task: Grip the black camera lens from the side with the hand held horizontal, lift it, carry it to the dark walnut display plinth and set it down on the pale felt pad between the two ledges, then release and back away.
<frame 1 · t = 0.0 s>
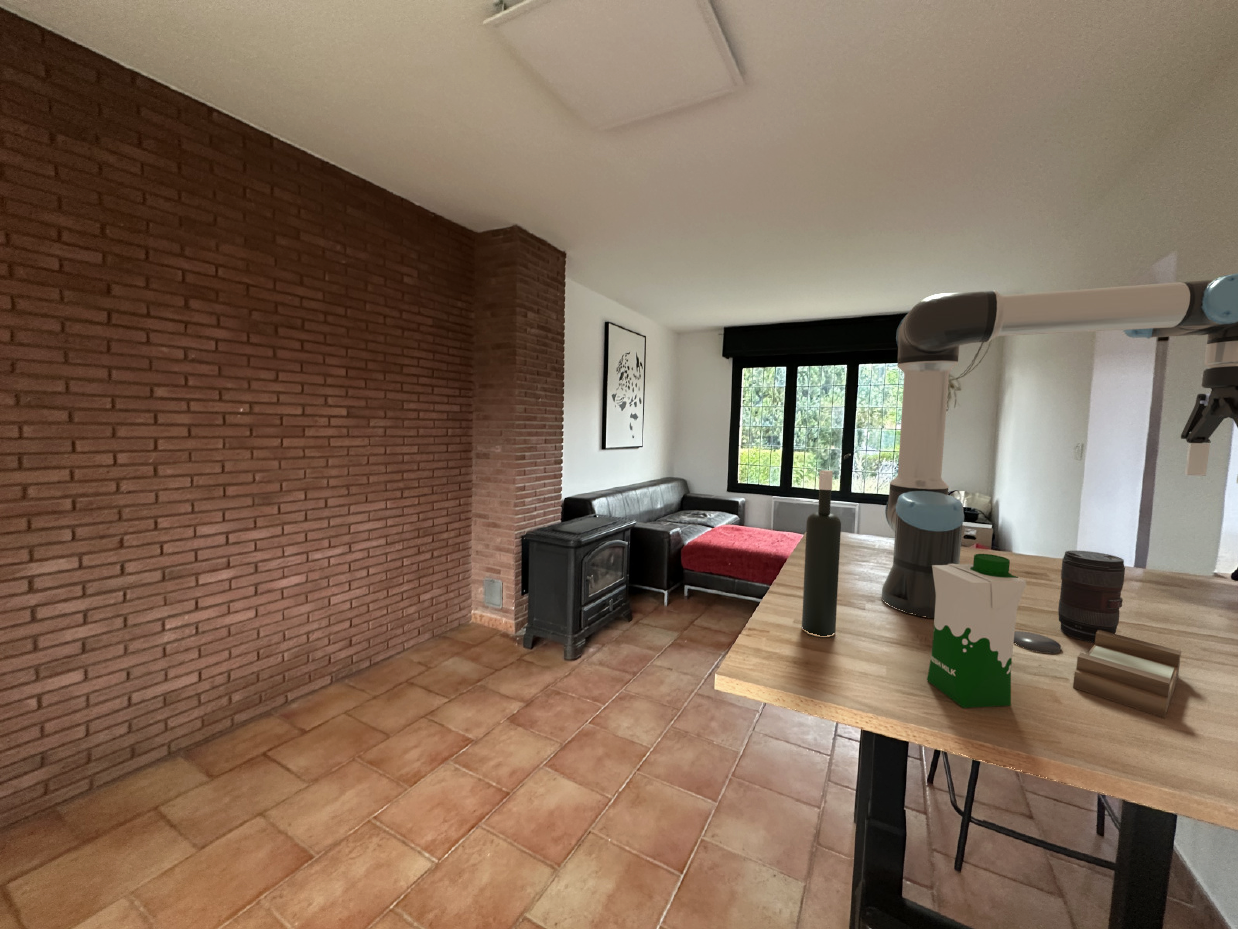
hand: (1220, 479, 92), 28 cm above the table, tool pointing down, fingers open, 13 cm apart
wine bottle: (818, 632, 89), on the table
camera lens: (1084, 635, 88), on the table
milk carton: (966, 694, 70), on the table
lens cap: (1033, 645, 85), on the table
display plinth: (1126, 682, 73), on the table
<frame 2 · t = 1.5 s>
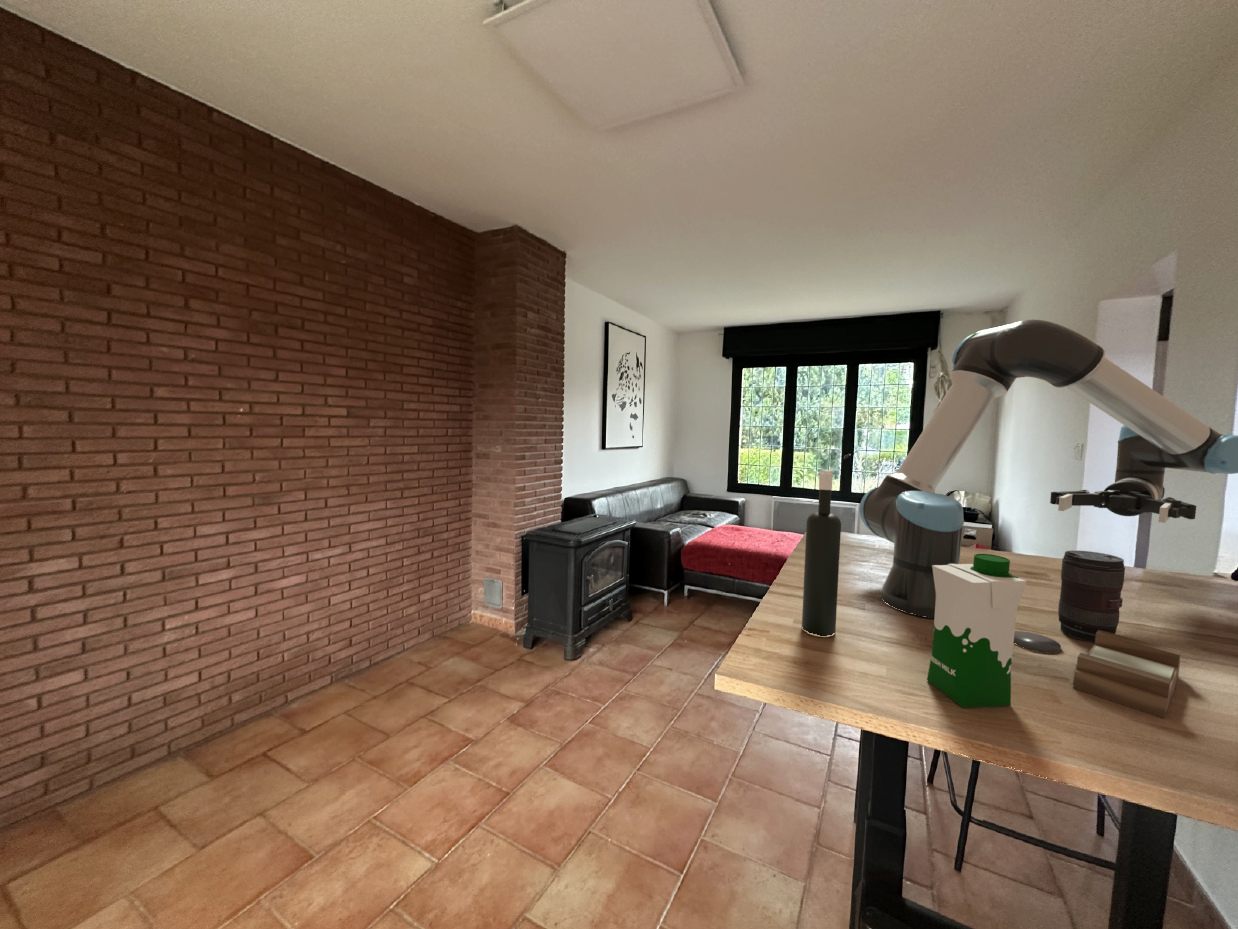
hand: (1108, 509, 92), 22 cm above the table, tool horizontal, fingers open, 13 cm apart
nothing on the table moved.
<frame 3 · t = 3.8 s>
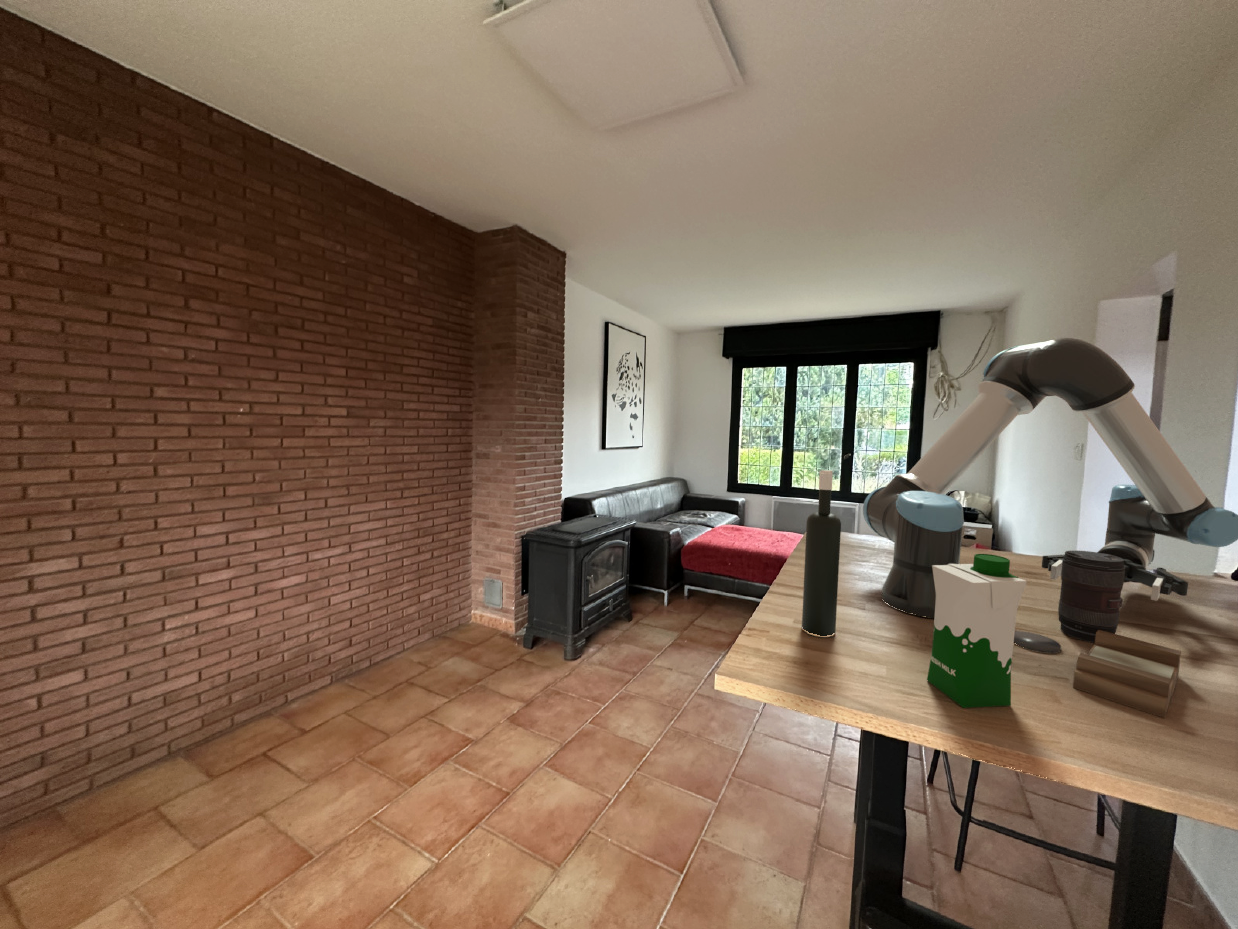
hand: (1101, 582, 90), 9 cm above the table, tool horizontal, fingers open, 13 cm apart
nothing on the table moved.
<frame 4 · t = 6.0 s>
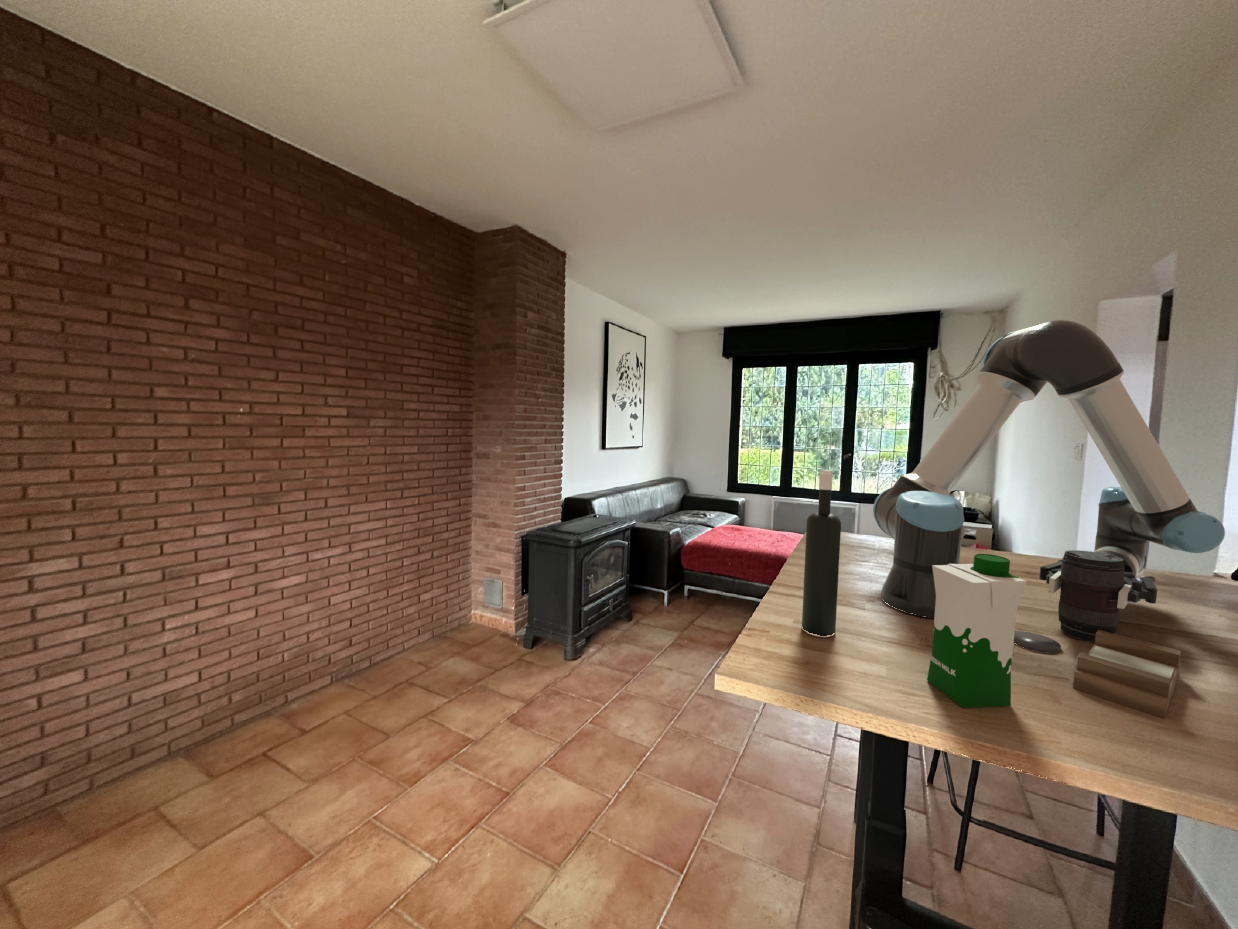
hand: (1084, 592, 84), 9 cm above the table, tool horizontal, fingers closed on camera lens, 8 cm apart
camera lens: (1085, 635, 88), on the table, touching gripper
everything else where it was.
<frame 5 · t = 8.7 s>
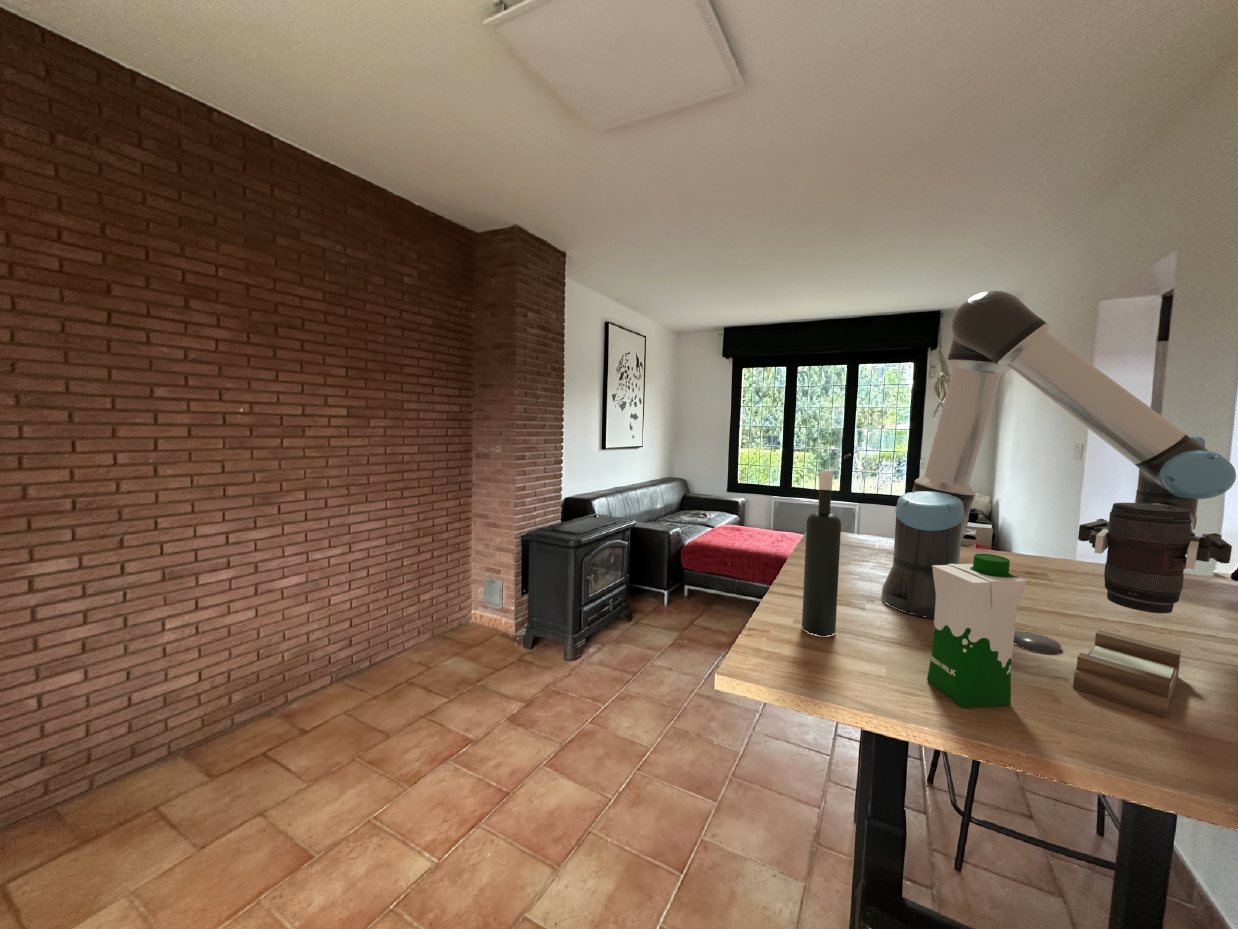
hand: (1142, 551, 68), 21 cm above the table, tool horizontal, fingers closed on camera lens, 8 cm apart
camera lens: (1138, 605, 72), point 12 cm above the table, touching gripper
everything else where it was.
when the fingers open (12 cm above the table, at t = 11.3 s): camera lens stays where it is, resting on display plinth.
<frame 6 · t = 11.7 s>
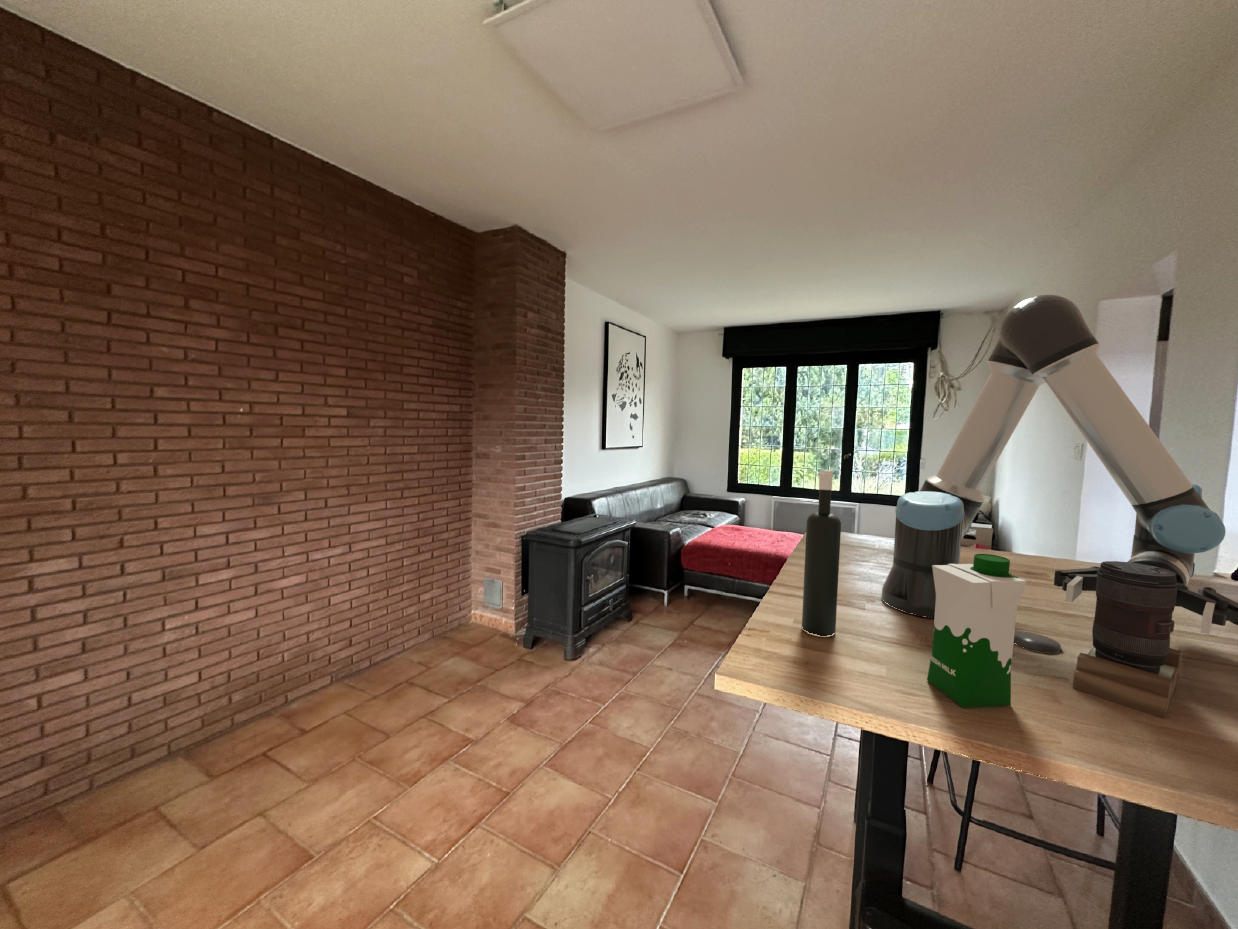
hand: (1132, 607, 69), 12 cm above the table, tool horizontal, fingers open, 13 cm apart
camera lens: (1125, 665, 73), point 3 cm above the table, touching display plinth
everything else where it was.
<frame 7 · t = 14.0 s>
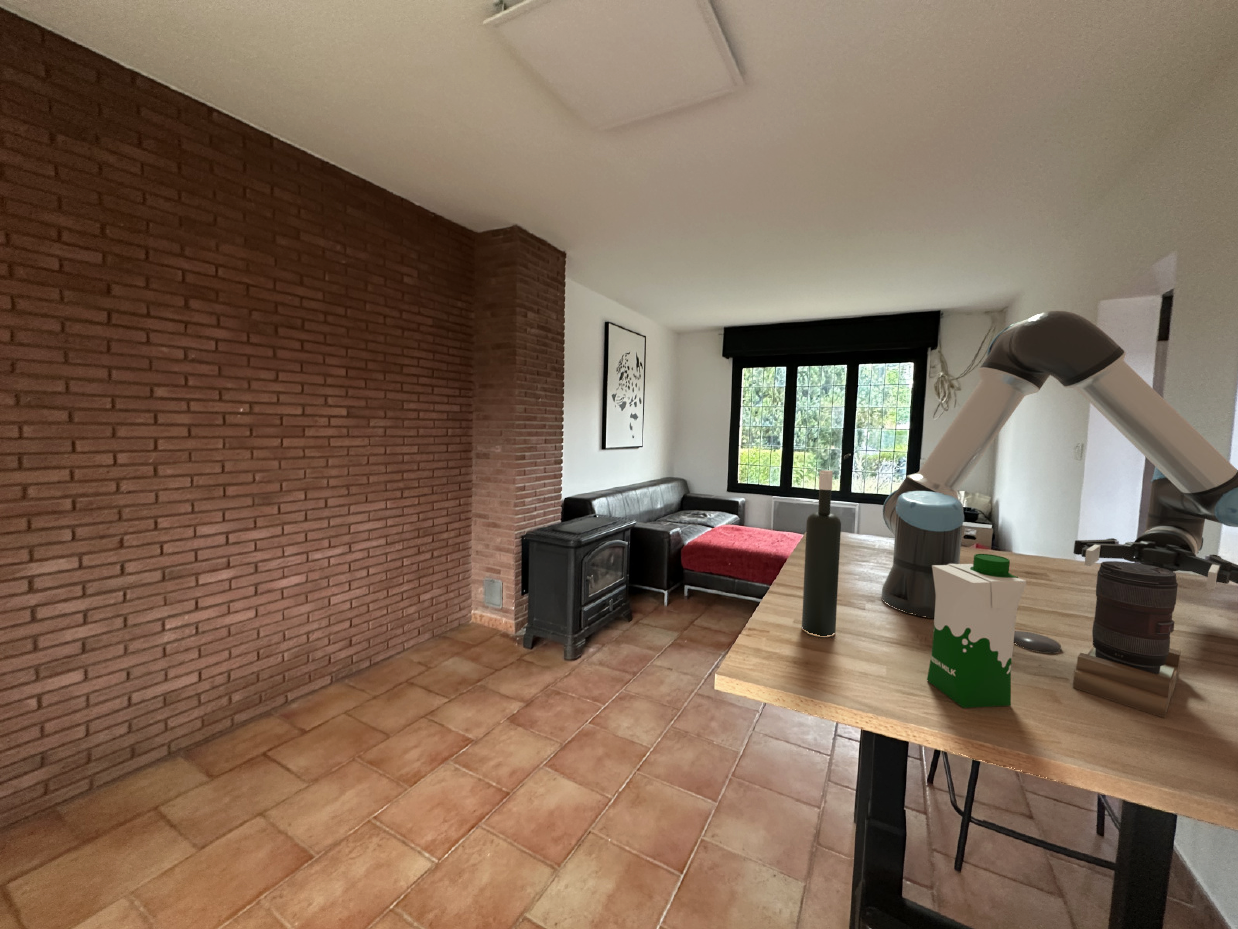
hand: (1145, 568, 79), 15 cm above the table, tool horizontal, fingers open, 13 cm apart
nothing on the table moved.
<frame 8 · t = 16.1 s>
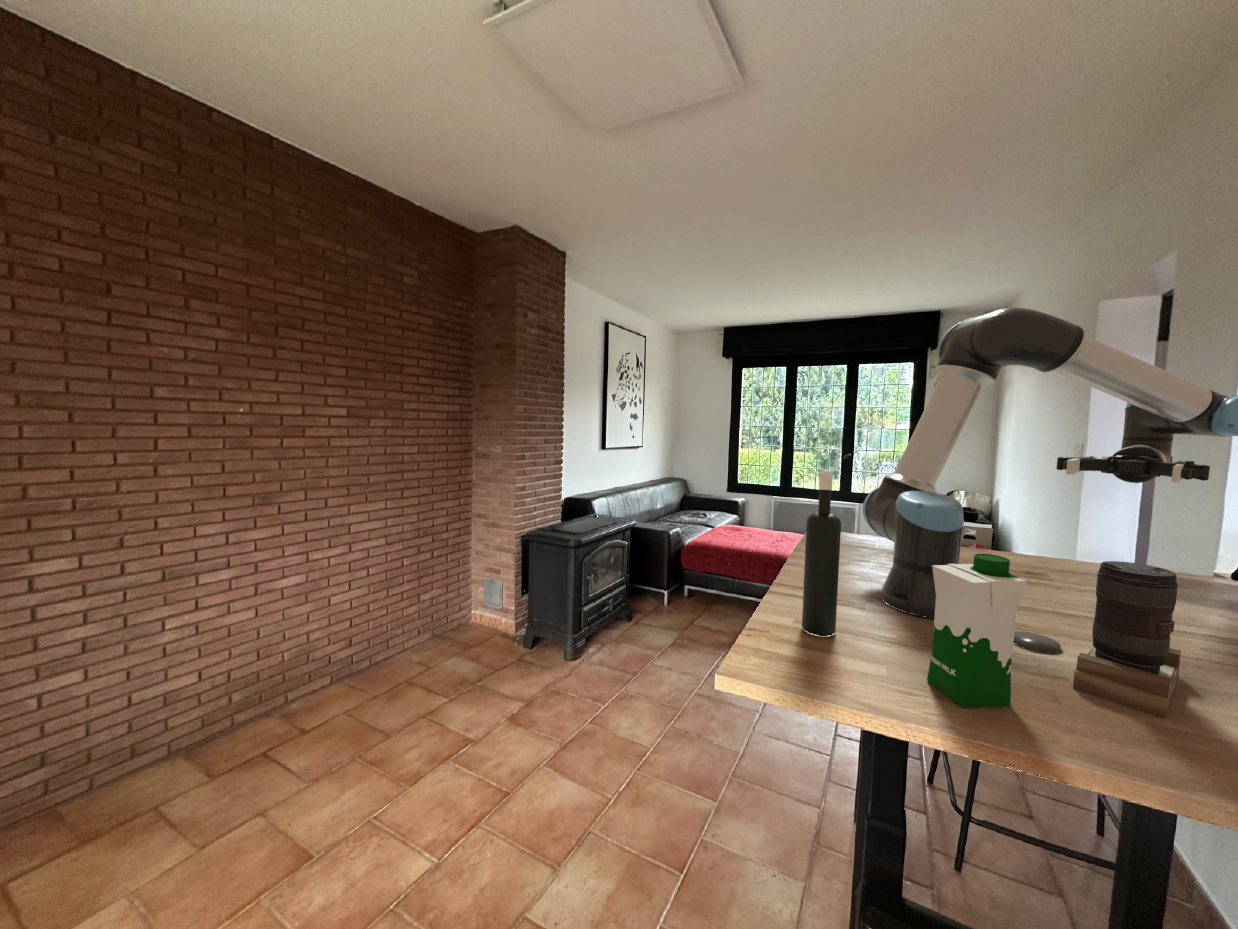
hand: (1119, 470, 88), 30 cm above the table, tool horizontal, fingers open, 13 cm apart
nothing on the table moved.
at the end: camera lens inside the target area on the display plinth (0.3 cm from its centre), point 2.5 cm above the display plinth's base; camera lens tilted 0°; the gripper is holding nothing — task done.
